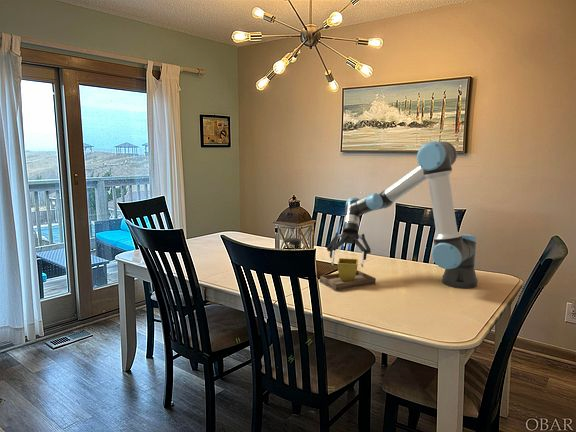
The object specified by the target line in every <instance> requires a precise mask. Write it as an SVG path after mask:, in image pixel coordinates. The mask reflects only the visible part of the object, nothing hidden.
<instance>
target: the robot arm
mask: <svg viewBox="0 0 576 432" xmlns="http://www.w3.org/2000/svg"><path fill="white" fill-rule="evenodd" d="M457 157H458V151H457V149H456V147H455V146H454V145H453V144H452V143H450V142H447V141H431V142H426V143H425V144H423V145H422V146H421V147H420V148H419V149H418V151H417V154H416V161H417V163H418V165H417V166H416V167H414V168H413V169H411V170H410V171H408V172H407V173H406V174H404V175H403V176H401V177H400V178H399V179H397V180H396V181H395V182H393V183H392V184H390V186H388V187H386V188H385V189H384V190H382V191H381V192H380V193H377V192H375V193H371V194H368V195H366V196H364V197H362V198H358V197H350V198H347V200H346V202H345V207H344V209H345V210H344V218H343V226H342V233H339V232H336V233H335V234H334V235H335V236H334V237H333V238H332V240H331V241H330V243H329V244H328V245H327V246H326V251H327V252H329V259H331V260H330V263H331V266H334V262H335V255H336V253H335V252H336V251H337V250H338V249H339V248H340V247H341V246H343V245H344V244H351V245H353V244H355V245H356V246H357V247H358V248H359V250H360V251H361V260H360V266H361V268H363V267H364V261H366V260H367V255H368V254H371V253H372V251H371V250H372V249H371V248H370V245H369V243H368V241H367V240H366V237H365V233H362V234H359V232H360V231H359V230H360V219H361V216H362V215H366V214H367V213H370V212H373V211H378V210H381V209H382V210H383V209H388V208H389V207H391V206H392V205H393V204H394V202H396V201H397V200H398V199H400V198H402V197H403V196H404V195H406V194H408V193H409V192H410V191H412V190H413V189H415V188H416V187H418V186H419V185H420V184H422V183H423V182H425V181H426V180H427V181H428V186H429V187H428V188H429V195H430V201H431V207H432V212H433V213H432V215H433V220H434V221H433V222H434V227H435V233H436V234H435V235H434V237H433V244H434V247H433V249H432V251H431V257H432V261H433V262H434V263H435V265H436V266H438V267H439V268H441V269H444V273H443V275H442V277H441V282H442V284H444V285H445V286H449V287H452V288H457V287H458V289H471V288H470V287H473V288H475V286H476V287H478V281H479V280H478V277H477V273H476V270H475V262H476V250H477V249H476V248H477V237H476V236H475V235H473V234H469V233H462V232H461V233H460V232H459V231H458V226H457V225H458V224H457V219H456V213H455V206H454V200H453V192H452V186H451V180H450V175H451V173H452V172H453V167H452V166H453V164H455V162H456V160H457V159H458V158H457ZM339 239H340V240H339ZM359 239H360V240H361V241H362V243H363V244H362V243H361V242H360V241H359ZM338 240H339V241H338Z"/></svg>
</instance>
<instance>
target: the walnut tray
mask: <svg viewBox="0 0 576 432" xmlns="http://www.w3.org/2000/svg"><path fill="white" fill-rule="evenodd" d="M319 283H320V284H322V285H324V286H325V287H327V288H329V289H331V290H332V291H334V292H338V291H339V292H340V291H344V290H349V289H350V290H351V289H357V288H363V287H368V286H373V285H375V286H376V277H374V276H372V275H369V274H367V273H365V272H363V271H361V270H358V269H357V271H356V276H355V279H354V280H353V281H351V282H350V281H342V280H341V279H340V277H339V273H331V274H324V275H319Z"/></svg>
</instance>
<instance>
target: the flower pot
mask: <svg viewBox="0 0 576 432" xmlns="http://www.w3.org/2000/svg"><path fill="white" fill-rule="evenodd" d="M358 263H359V259H358V258H339V259H338V261H337V272H338V273H339V277H340V279H341V280H342V281H350V282H351V281H353V280H354V279H355V276H356V271H357V270H358V265H359V264H358Z"/></svg>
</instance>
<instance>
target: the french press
mask: <svg viewBox="0 0 576 432" xmlns="http://www.w3.org/2000/svg"><path fill="white" fill-rule="evenodd" d="M289 229H291V230H292V229H294V230H296V228H289ZM291 232H292V231H291ZM291 234H292V236H291V237H292V238H289V237H284V238H283V241H284V243H285V244H286V243H289V244H290V245H292V246H291V247H292V248H286V247H284V248H283V250H284V249H289V250H292V249H293V250H295V249H294V248H293V247H294V246H299V245H301V243H302V240H303V238H301V239H298V238H299V237H296V238H293V237H294V231H293V232H292V233H291ZM302 248H303V247H302ZM302 248H297V249H302Z"/></svg>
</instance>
